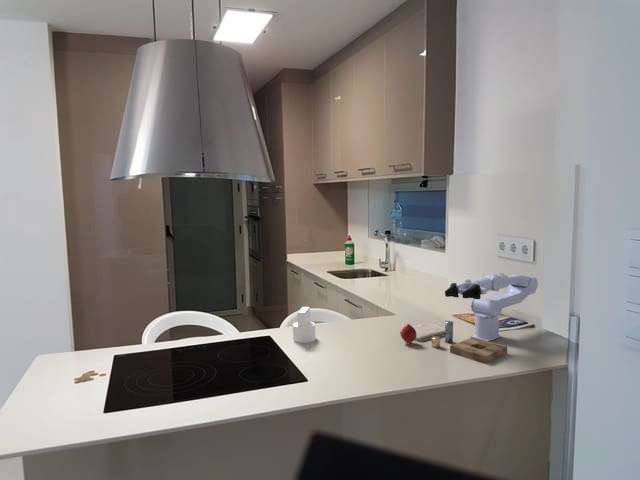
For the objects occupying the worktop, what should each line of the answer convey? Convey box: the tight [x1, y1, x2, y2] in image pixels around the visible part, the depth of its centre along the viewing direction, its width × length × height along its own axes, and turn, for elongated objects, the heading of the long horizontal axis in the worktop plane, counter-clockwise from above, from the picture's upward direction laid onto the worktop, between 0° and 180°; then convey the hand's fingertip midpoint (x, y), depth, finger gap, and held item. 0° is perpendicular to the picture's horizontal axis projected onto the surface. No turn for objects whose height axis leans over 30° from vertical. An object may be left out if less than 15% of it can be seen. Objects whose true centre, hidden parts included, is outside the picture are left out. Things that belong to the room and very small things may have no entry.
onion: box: [400, 322, 416, 345], centre depth 171 cm, size 6×6×8 cm
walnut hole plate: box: [449, 337, 508, 364], centre depth 160 cm, size 14×14×2 cm
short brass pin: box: [431, 336, 441, 349], centre depth 168 cm, size 3×3×4 cm
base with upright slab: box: [292, 306, 316, 344], centre depth 179 cm, size 9×9×12 cm
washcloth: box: [399, 322, 445, 342], centre depth 183 cm, size 12×18×3 cm, turn 122°
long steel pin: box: [444, 320, 454, 344], centre depth 172 cm, size 3×3×8 cm
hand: (454, 294), depth 163 cm, fingers open, 7 cm apart
